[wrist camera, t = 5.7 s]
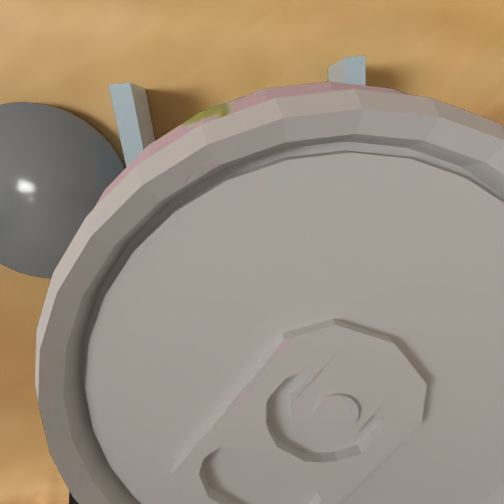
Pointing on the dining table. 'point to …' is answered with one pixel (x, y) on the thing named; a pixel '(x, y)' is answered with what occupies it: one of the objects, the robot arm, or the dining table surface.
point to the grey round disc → (48, 182)
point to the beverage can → (287, 310)
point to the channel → (138, 114)
